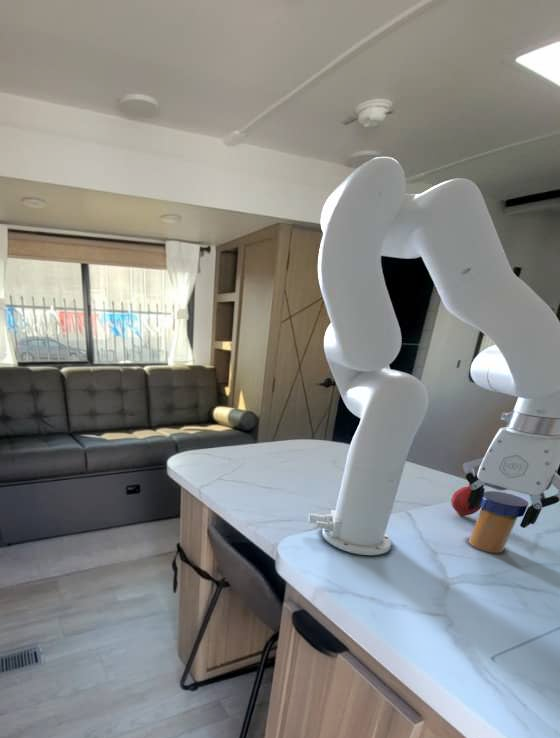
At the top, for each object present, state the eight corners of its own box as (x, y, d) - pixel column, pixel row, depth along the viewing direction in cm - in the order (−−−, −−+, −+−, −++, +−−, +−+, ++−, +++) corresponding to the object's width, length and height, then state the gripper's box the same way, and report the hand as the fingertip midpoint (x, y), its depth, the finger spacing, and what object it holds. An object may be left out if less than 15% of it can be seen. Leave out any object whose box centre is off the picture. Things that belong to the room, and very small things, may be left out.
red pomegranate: (453, 508, 95) (465, 476, 92) (481, 517, 91) (494, 484, 87) (441, 513, 92) (453, 481, 89) (469, 524, 88) (482, 490, 84)
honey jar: (476, 551, 77) (494, 506, 73) (463, 537, 82) (480, 494, 78) (508, 554, 76) (529, 509, 72) (494, 540, 81) (512, 497, 77)
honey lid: (531, 519, 72) (536, 508, 71) (489, 514, 74) (493, 503, 73) (511, 503, 78) (516, 493, 77) (472, 499, 80) (476, 489, 79)
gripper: (470, 416, 73) (440, 504, 81) (597, 440, 61) (547, 541, 68) (487, 412, 77) (457, 496, 85) (611, 434, 65) (562, 530, 72)
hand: (497, 516), depth 77 cm, fingers open, 8 cm apart
